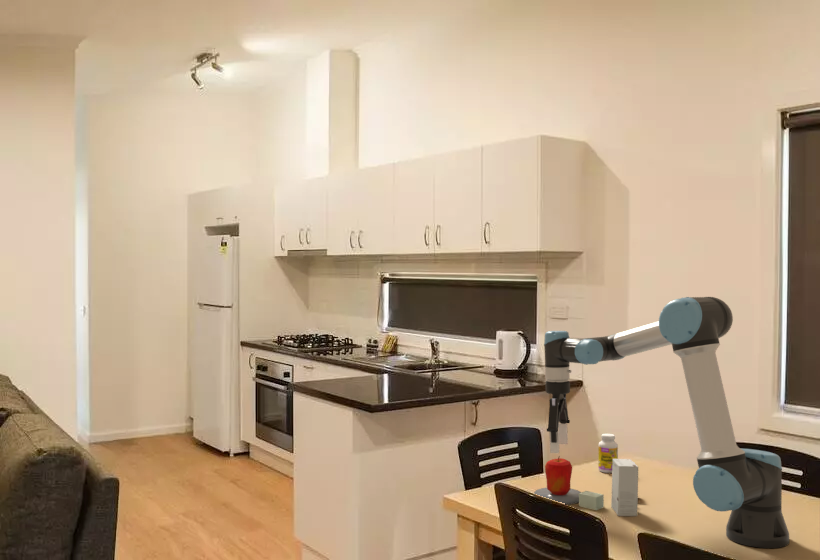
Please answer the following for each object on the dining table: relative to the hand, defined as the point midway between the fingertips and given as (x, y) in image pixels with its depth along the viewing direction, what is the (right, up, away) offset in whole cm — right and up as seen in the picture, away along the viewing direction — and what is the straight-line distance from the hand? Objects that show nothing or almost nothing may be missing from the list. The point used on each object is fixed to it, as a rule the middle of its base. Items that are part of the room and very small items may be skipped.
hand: (559, 448), depth 241 cm
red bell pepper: (0, -14, +1) cm, 14 cm away
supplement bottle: (+24, -15, +32) cm, 42 cm away
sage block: (+8, -16, -9) cm, 20 cm away
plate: (0, -15, 0) cm, 15 cm away
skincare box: (+16, -16, -15) cm, 27 cm away
